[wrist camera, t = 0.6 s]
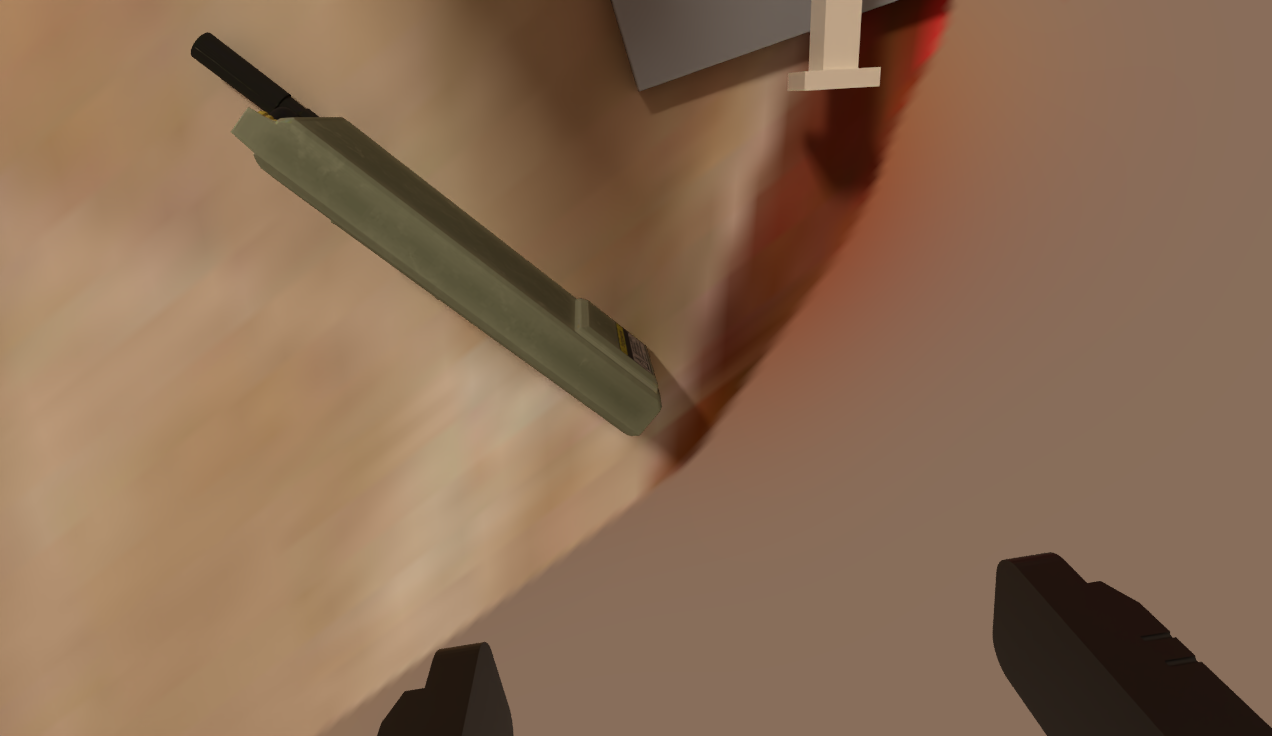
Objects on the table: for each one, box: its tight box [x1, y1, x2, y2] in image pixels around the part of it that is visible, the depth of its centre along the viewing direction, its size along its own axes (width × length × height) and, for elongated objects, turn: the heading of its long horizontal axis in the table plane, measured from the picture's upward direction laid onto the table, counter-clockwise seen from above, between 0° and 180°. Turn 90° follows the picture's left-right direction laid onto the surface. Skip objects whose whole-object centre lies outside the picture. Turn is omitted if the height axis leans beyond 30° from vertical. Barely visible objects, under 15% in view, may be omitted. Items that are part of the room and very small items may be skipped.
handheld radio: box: [191, 33, 662, 436], centre depth 31 cm, size 7×3×25 cm
